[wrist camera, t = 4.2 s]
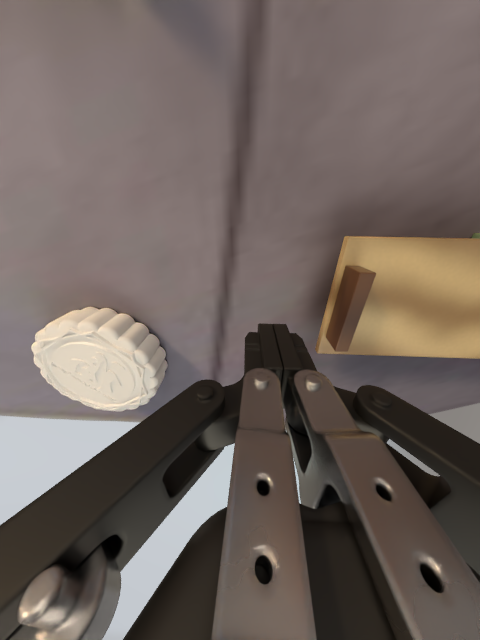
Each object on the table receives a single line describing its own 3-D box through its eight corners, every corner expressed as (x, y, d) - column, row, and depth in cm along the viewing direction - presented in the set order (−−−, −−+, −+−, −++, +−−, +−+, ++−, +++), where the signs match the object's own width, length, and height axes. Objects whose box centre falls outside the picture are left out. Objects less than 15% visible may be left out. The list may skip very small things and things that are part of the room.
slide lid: (344, 236, 13) (365, 240, 10) (602, 240, 12) (682, 246, 10) (314, 349, 17) (325, 369, 15) (502, 355, 17) (541, 376, 15)
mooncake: (190, 359, 21) (180, 383, 18) (131, 403, 25) (115, 429, 22) (91, 280, 17) (57, 295, 14) (40, 348, 21) (4, 371, 18)
